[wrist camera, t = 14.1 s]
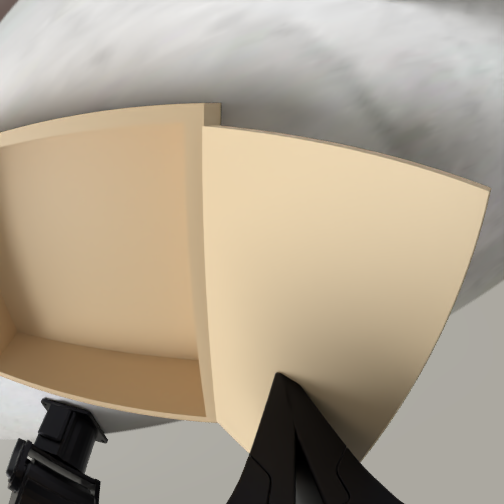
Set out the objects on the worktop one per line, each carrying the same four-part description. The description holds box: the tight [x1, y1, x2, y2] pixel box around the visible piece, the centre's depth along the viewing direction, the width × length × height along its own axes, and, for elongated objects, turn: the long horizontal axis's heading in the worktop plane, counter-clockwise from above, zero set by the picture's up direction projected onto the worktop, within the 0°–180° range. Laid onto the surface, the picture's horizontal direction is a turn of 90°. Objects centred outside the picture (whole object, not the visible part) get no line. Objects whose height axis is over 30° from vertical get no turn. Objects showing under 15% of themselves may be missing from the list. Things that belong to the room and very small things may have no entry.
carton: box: [0, 103, 221, 423], centre depth 14 cm, size 16×18×5 cm
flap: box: [202, 125, 491, 462], centre depth 9 cm, size 15×8×1 cm
